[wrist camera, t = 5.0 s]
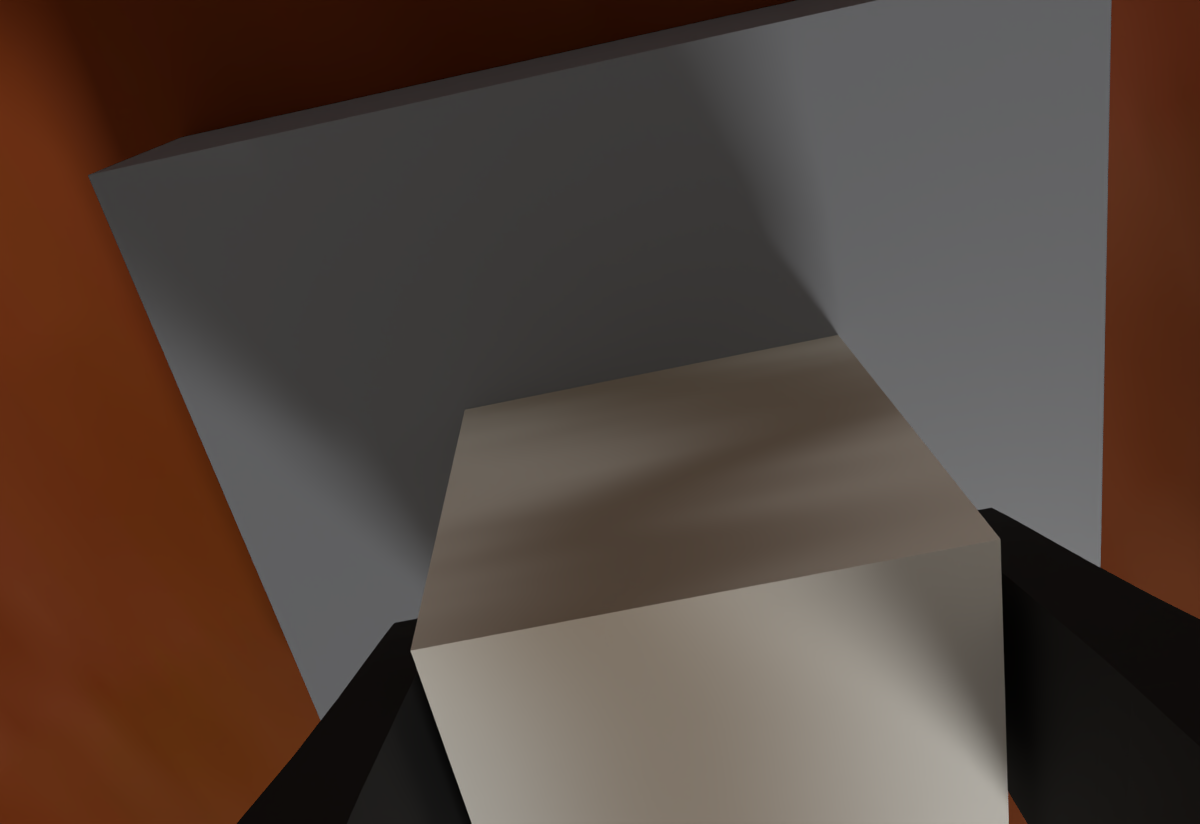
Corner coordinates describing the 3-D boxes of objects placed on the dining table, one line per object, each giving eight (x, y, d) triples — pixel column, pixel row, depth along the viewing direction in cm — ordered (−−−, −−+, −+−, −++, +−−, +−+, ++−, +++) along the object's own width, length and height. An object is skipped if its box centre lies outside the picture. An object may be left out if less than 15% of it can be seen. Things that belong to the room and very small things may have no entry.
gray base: (999, -45, 13) (1112, -52, 11) (1016, 633, 18) (1096, 748, 15) (180, 137, 14) (87, 175, 11) (412, 746, 19) (387, 875, 16)
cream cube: (837, 335, 12) (1001, 539, 8) (869, 639, 14) (1012, 941, 10) (464, 409, 13) (410, 650, 8) (547, 698, 15) (541, 1020, 10)
